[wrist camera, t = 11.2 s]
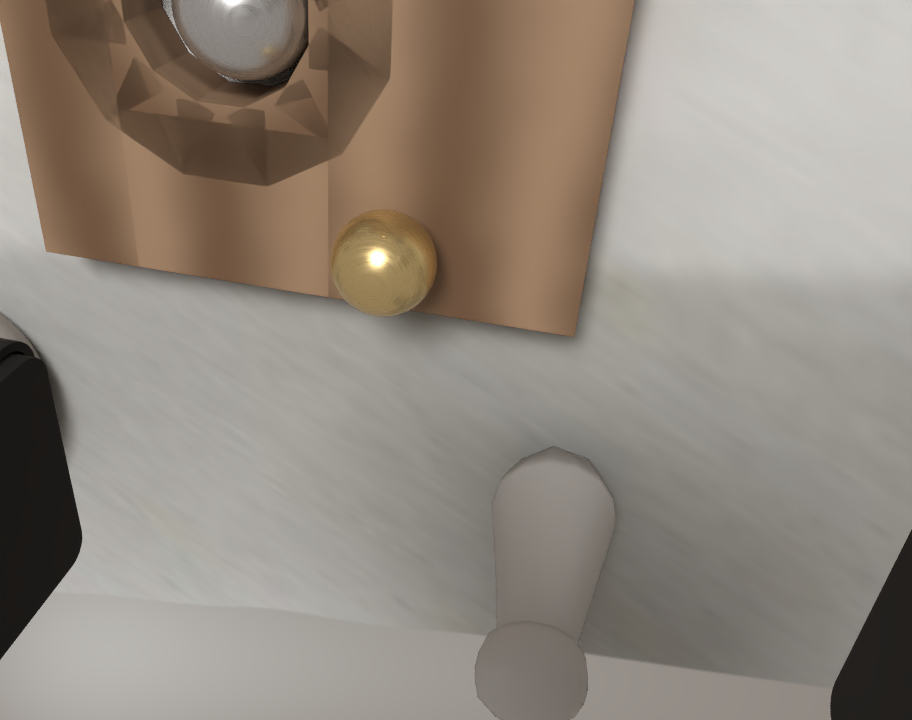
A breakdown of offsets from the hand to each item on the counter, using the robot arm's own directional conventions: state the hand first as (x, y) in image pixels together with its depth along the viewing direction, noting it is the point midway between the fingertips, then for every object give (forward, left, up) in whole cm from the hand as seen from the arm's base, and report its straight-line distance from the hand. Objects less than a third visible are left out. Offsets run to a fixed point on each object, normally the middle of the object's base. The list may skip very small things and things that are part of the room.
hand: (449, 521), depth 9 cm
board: (+10, 0, -26) cm, 28 cm away
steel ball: (+12, 0, -24) cm, 27 cm away
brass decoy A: (+6, +8, -21) cm, 24 cm away
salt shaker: (-2, +21, -26) cm, 34 cm away
